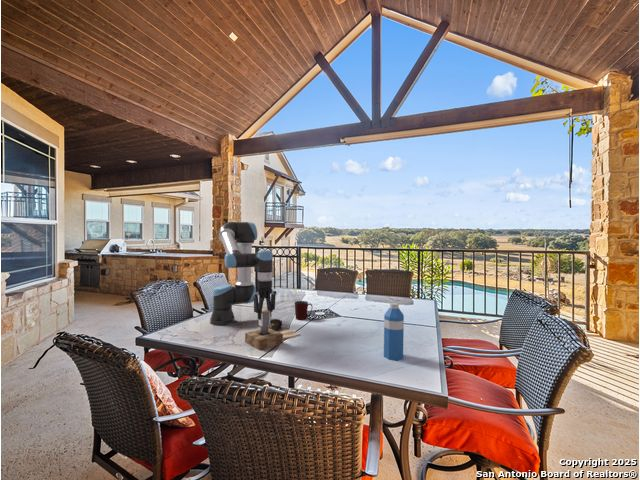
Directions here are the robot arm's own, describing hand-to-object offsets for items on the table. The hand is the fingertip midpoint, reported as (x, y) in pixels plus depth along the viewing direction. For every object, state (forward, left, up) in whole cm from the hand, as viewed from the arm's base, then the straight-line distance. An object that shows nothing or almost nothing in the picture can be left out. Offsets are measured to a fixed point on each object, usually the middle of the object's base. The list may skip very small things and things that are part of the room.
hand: (264, 324), depth 157 cm
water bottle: (+56, +35, -10) cm, 66 cm away
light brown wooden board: (-3, +16, -10) cm, 19 cm away
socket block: (0, 0, -10) cm, 10 cm away
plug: (0, 0, -7) cm, 7 cm away
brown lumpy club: (-13, +14, -10) cm, 21 cm away
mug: (-21, +45, -10) cm, 50 cm away
